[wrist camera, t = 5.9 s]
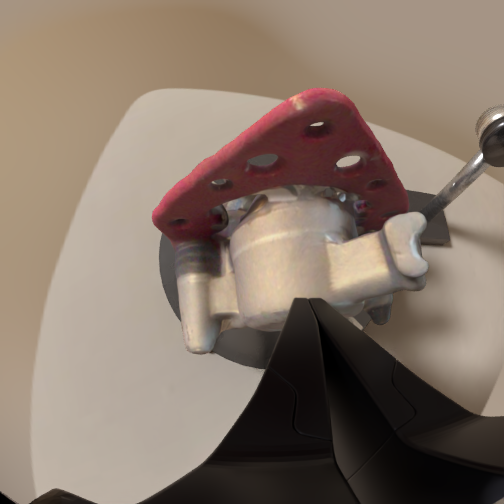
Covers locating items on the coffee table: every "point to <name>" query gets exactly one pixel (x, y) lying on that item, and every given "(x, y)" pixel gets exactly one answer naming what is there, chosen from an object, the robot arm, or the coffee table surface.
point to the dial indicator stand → (461, 177)
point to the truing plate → (236, 340)
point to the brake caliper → (291, 224)
